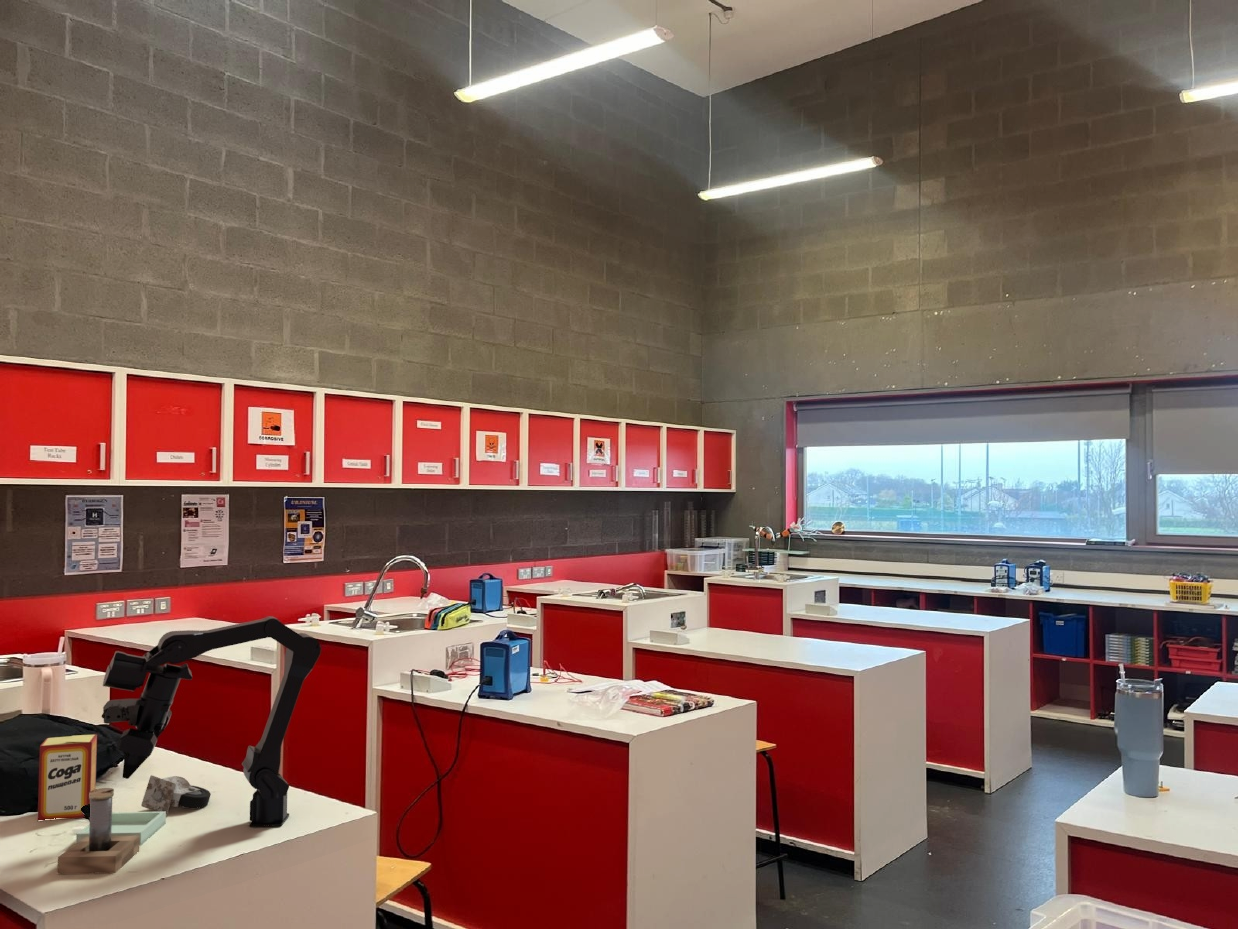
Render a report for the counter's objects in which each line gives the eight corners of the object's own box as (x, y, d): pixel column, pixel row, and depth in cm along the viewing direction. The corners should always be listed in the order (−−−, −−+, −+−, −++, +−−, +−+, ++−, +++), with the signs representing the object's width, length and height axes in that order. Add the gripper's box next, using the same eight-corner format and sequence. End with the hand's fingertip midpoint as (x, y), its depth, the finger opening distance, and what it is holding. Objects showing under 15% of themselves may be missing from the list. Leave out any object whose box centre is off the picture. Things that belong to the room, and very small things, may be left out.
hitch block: (139, 851, 177) (139, 835, 177) (115, 873, 167) (115, 856, 167) (84, 852, 176) (85, 836, 176) (57, 874, 166) (57, 857, 166)
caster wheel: (212, 814, 205) (182, 822, 195) (170, 799, 208) (138, 806, 198) (221, 784, 206) (192, 791, 196) (179, 769, 209) (148, 775, 199)
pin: (115, 858, 174) (117, 787, 174) (105, 866, 170) (107, 794, 170) (93, 858, 173) (95, 788, 174) (82, 867, 169) (85, 795, 170)
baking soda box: (37, 821, 192) (39, 744, 193) (44, 811, 198) (46, 736, 199) (89, 816, 195) (91, 740, 196) (94, 806, 202) (97, 732, 202)
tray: (165, 823, 192) (165, 811, 192) (140, 845, 180) (140, 832, 180) (105, 824, 191) (105, 812, 191) (76, 847, 179) (76, 833, 179)
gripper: (127, 668, 190) (100, 740, 190) (102, 700, 172) (73, 778, 172) (183, 683, 193) (157, 753, 193) (164, 715, 175) (136, 792, 175)
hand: (131, 768), depth 183 cm, fingers open, 9 cm apart
